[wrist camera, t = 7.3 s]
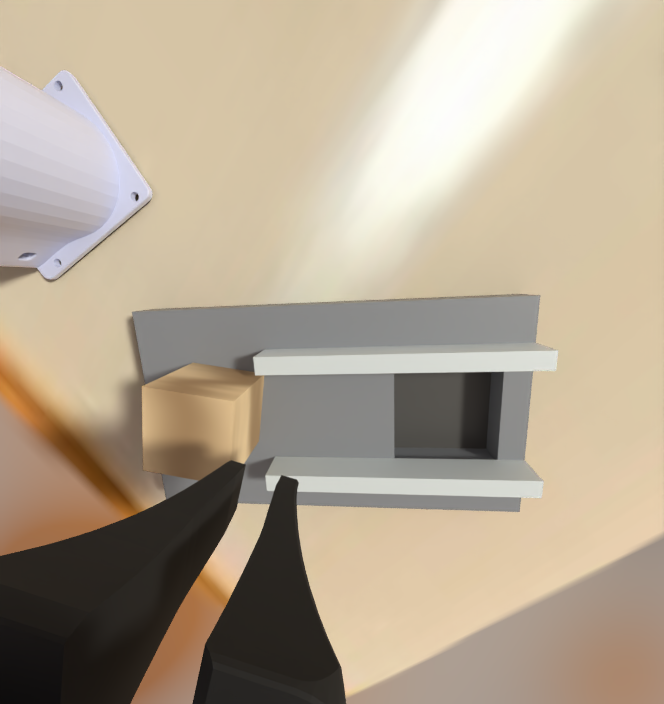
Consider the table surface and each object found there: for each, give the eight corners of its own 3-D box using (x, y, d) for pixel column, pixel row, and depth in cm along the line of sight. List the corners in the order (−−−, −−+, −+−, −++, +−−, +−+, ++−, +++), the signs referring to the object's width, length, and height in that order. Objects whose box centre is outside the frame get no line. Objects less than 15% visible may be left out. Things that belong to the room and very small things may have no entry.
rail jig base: (521, 294, 18) (564, 297, 14) (505, 490, 21) (537, 538, 17) (153, 309, 21) (104, 315, 17) (182, 482, 23) (146, 522, 19)
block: (264, 373, 19) (234, 401, 14) (259, 441, 20) (228, 486, 15) (193, 362, 19) (141, 386, 15) (191, 429, 20) (142, 470, 16)
